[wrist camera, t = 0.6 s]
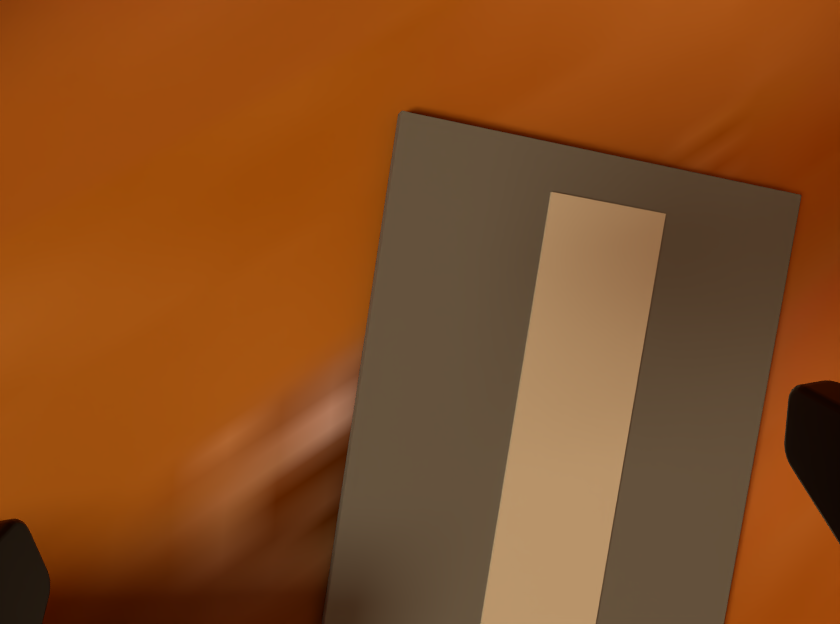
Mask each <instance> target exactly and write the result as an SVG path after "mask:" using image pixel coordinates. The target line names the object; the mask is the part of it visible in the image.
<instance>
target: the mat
mask: <svg viewBox="0 0 840 624" xmlns="http://www.w3.org/2000/svg"><path fill="white" fill-rule="evenodd" d="M800 200H801V195H799V194H794V193H789V192H785V191H780V190H775V189H771V188H766V187H761V186H756V185H752V184H747V183H742V182H737V181H733V180H728V179H723V178H718V177H714V176H709V175H704V174H699V173H695V172H690V171H685V170H680V169H676V168H671V167H666V166H661V165H657V164H652V163H647V162H642V161H638V160H633V159H628V158H623V157H619V156H614V155H609V154H605V153H600V152H595V151H590V150H586V149H581V148H576V147H571V146H567V145H562V144H557V143H552V142H548V141H543V140H538V139H533V138H529V137H524V136H519V135H514V134H510V133H505V132H500V131H495V130H491V129H486V128H481V127H476V126H472V125H467V124H462V123H457V122H453V121H448V120H443V119H439V118H434V117H429V116H424V115H420V114H415V113H410V112H405V111H401V112H400V113H399V114H398V120H397V127H396V133H395V140H394V147H393V153H392V160H391V167H390V173H389V180H388V187H387V193H386V200H385V206H384V213H383V220H382V226H381V233H380V240H379V246H378V253H377V260H376V266H375V273H374V279H373V286H372V293H371V299H370V306H369V313H368V319H367V326H366V333H365V339H364V346H363V352H362V359H361V366H360V372H359V379H358V386H357V392H356V399H355V406H354V412H353V419H352V425H351V432H350V439H349V445H348V452H347V459H346V465H345V472H344V479H343V485H342V492H341V499H340V505H339V512H338V518H337V525H336V532H335V538H334V545H333V552H332V558H331V565H330V572H329V578H328V585H327V591H326V598H325V605H324V611H323V618H322V624H724V620H725V614H726V609H727V603H728V598H729V592H730V587H731V581H732V576H733V570H734V565H735V559H736V553H737V548H738V542H739V537H740V531H741V526H742V520H743V515H744V509H745V504H746V498H747V493H748V487H749V482H750V476H751V471H752V465H753V460H754V454H755V449H756V443H757V438H758V432H759V426H760V421H761V415H762V410H763V404H764V399H765V393H766V388H767V382H768V377H769V371H770V366H771V360H772V355H773V349H774V344H775V338H776V333H777V327H778V322H779V316H780V311H781V305H782V300H783V294H784V288H785V283H786V277H787V272H788V266H789V261H790V255H791V250H792V244H793V239H794V233H795V228H796V222H797V217H798V211H799V206H800Z"/></svg>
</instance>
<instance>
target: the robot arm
mask: <svg viewBox="0 0 840 624" xmlns="http://www.w3.org/2000/svg"><path fill="white" fill-rule="evenodd" d="M784 446H785V453H786V457H787V459H788V462H789V464H790V466H791V467H792V469H793V471H794V472H795V474H796V475H797V477H798V479H799V480H800V482H801V483H802V485H803V487H804V488H805V490H806V491H807V493H808V494H809V496H810V498H811V499H812V501H813V502H814V504H815V506H816V507H817V509H818V510H819V512H820V514H821V515H822V517H823V518H824V520H825V521H826V523H827V525H828V526H829V528H830V529H831V531H832V533H833V534H834V536H835V537H836V539H837V541H838V542H839V544H840V383H838V382H834V381H819V382H813V383H807V384H802V385H797V386H796V387H795V388H793V389H792V390H791V393H790V395H789V399H788V410H787V420H786V431H785V441H784ZM49 593H50V579H49V574H48V571H47V569H46V566H45V564H44V562H43V560H42V557H41V555H40V553H39V551H38V549H37V546H36V544H35V542H34V540H33V538H32V535H31V533H30V531H29V529H28V527H27V526H26V524H25V523H24V522H23V521H21V520H18V519H9V520H3V521H0V624H42V621H43V618H44V614H45V610H46V606H47V602H48V598H49Z"/></svg>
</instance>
